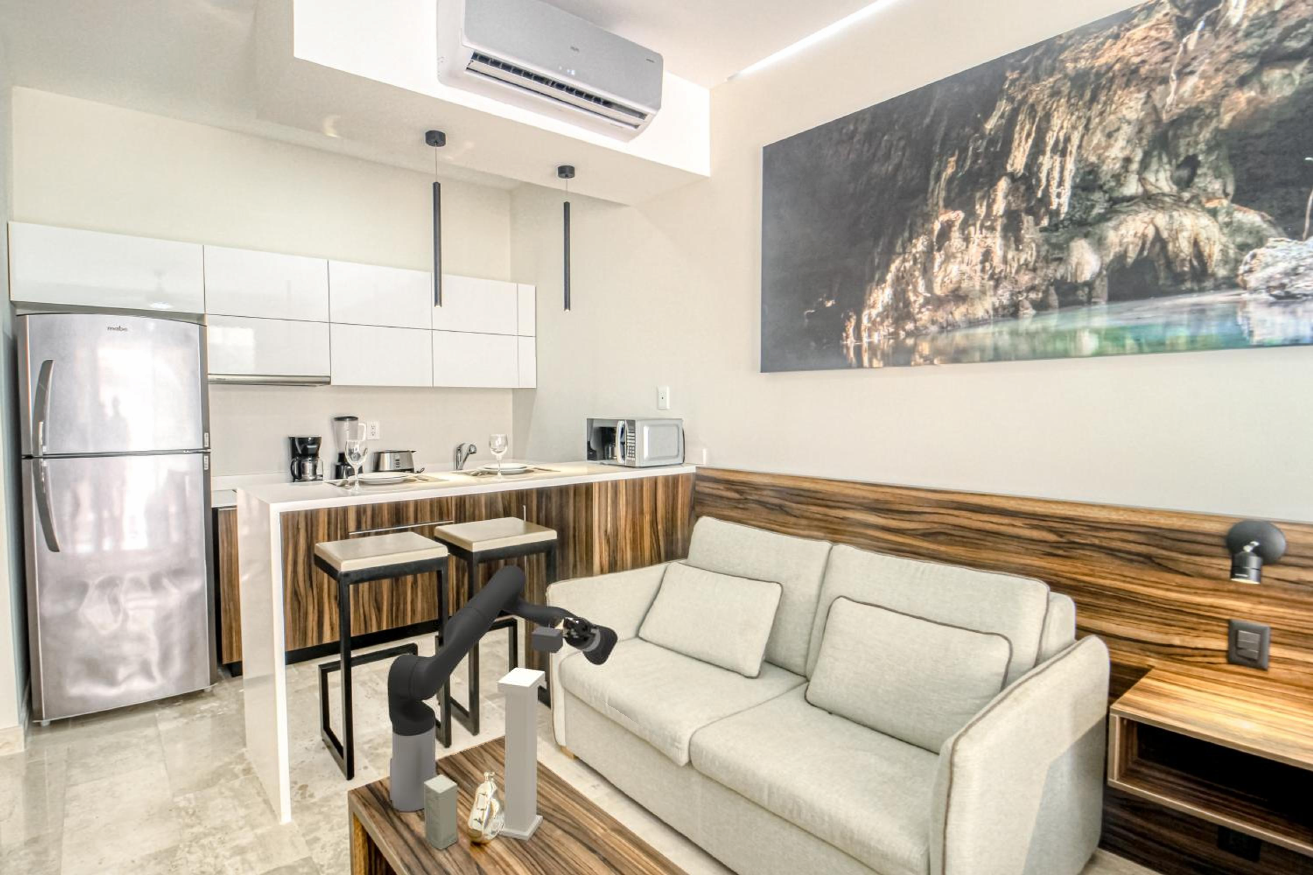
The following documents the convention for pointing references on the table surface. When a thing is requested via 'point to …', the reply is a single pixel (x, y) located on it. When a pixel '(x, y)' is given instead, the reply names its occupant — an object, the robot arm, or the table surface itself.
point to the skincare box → (441, 811)
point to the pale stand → (521, 752)
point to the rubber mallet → (548, 638)
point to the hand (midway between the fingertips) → (559, 621)
